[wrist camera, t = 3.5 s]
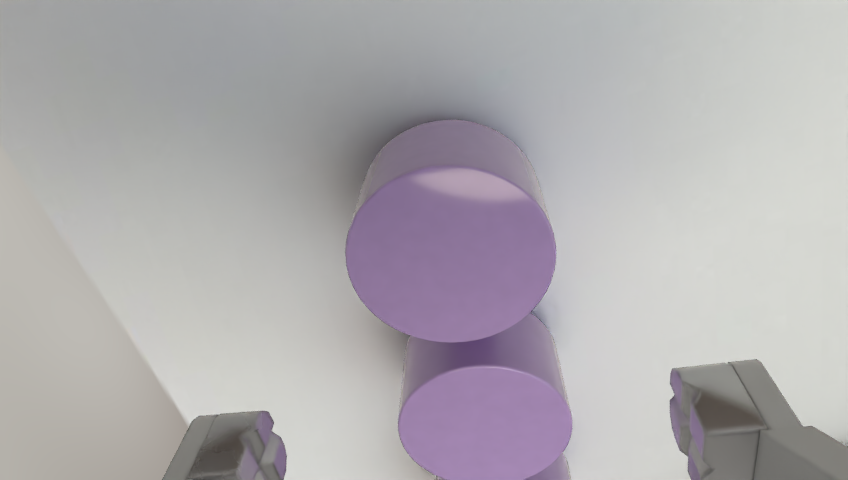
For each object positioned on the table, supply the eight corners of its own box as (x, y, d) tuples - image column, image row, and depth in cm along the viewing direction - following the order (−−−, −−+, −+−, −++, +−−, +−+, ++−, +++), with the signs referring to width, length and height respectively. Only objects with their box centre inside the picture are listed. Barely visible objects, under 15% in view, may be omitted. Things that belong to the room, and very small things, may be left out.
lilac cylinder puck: (421, 401, 26) (416, 493, 22) (392, 293, 23) (379, 377, 19) (558, 386, 25) (578, 479, 21) (546, 272, 22) (566, 355, 18)
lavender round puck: (386, 272, 22) (372, 354, 18) (346, 125, 19) (319, 185, 15) (543, 250, 22) (564, 330, 18) (526, 93, 19) (546, 148, 15)
